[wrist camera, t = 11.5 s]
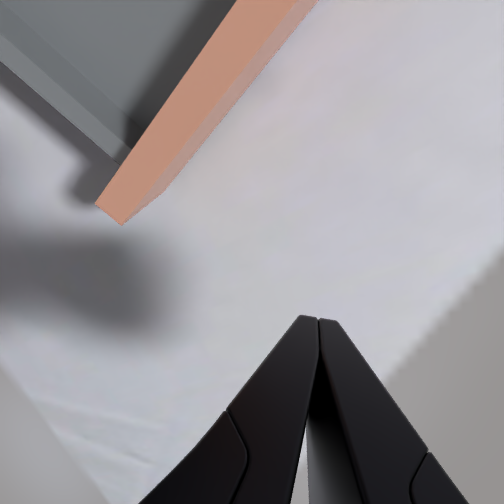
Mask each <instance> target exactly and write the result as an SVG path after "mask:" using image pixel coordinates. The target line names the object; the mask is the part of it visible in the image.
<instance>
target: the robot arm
mask: <svg viewBox="0 0 504 504" xmlns="http://www.w3.org/2000/svg"><path fill="white" fill-rule="evenodd" d="M305 428H306V438H307V463H308V487H309V504H469V503H468V502H467V500H466V499H465V498H464V496H463V495H462V494H461V492H460V491H459V490H458V488H457V487H456V486H455V484H454V483H453V482H452V480H451V479H450V478H449V476H448V475H447V474H446V472H445V471H444V469H443V468H442V467H441V465H440V464H439V463H438V461H437V460H436V458H435V457H434V455H433V454H432V453H431V452H428V448H427V446H426V445H425V443H424V442H423V441H422V439H421V438H420V436H419V435H418V433H417V432H416V430H415V429H414V428H413V426H412V425H411V424H410V422H409V421H408V419H407V418H406V416H405V415H404V414H403V412H402V411H401V409H400V408H399V407H398V405H397V404H396V403H395V401H394V400H393V398H392V397H391V395H390V394H389V393H388V391H387V390H386V388H385V387H384V386H383V384H382V383H381V381H380V380H379V379H378V377H377V376H376V374H375V373H374V372H373V370H372V369H371V367H370V366H369V364H368V363H367V362H366V360H365V359H364V357H363V356H362V355H361V353H360V352H359V350H358V349H357V348H356V346H355V345H354V343H353V342H352V341H351V339H350V338H349V336H348V335H347V334H346V332H345V331H344V329H343V328H342V327H341V325H340V324H339V323H338V322H337V321H335V320H330V319H324V318H320V319H319V320H318V319H317V318H316V317H312V316H306V315H299V316H298V317H297V319H296V320H295V321H294V322H293V324H292V325H291V326H290V328H289V329H288V330H287V331H286V333H285V334H284V335H283V336H282V338H281V339H280V340H279V342H278V343H277V344H276V345H275V347H274V348H273V349H272V351H271V352H270V353H269V354H268V356H267V357H266V358H265V359H264V361H263V362H262V363H261V365H260V366H259V367H258V368H257V370H256V371H255V372H254V374H253V375H252V376H251V377H250V379H249V380H248V381H247V382H246V384H245V385H244V386H243V388H242V389H241V390H240V391H239V393H238V394H237V395H236V397H235V398H234V399H233V400H232V402H231V403H230V404H229V405H228V407H227V408H226V411H224V412H223V413H222V414H221V415H220V417H219V418H218V419H217V420H216V422H215V423H214V424H213V426H212V427H211V428H210V429H209V430H208V432H207V433H206V434H205V435H204V436H203V437H202V439H201V440H200V441H199V442H198V443H197V445H196V446H195V447H194V448H193V449H192V450H191V451H190V452H189V453H188V454H187V455H186V456H185V457H184V458H183V459H182V461H181V462H180V463H179V464H178V465H177V466H176V467H175V468H174V469H173V470H172V471H171V472H170V473H169V474H168V475H167V476H166V477H165V478H164V479H163V480H162V481H161V482H160V483H159V484H158V485H157V486H156V487H155V488H154V489H153V490H152V491H151V492H150V493H149V494H148V495H147V496H146V497H145V498H144V499H142V500H141V501H140V502H139V503H138V504H290V503H291V498H292V493H293V488H294V483H295V478H296V473H297V468H298V463H299V458H300V453H301V448H302V443H303V438H304V433H305ZM427 452H428V453H427Z"/></svg>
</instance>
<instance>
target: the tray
mask: <svg viewBox="0 0 504 504" xmlns="http://www.w3.org/2000/svg"><path fill="white" fill-rule="evenodd" d="M317 2H318V0H0V61H1V62H2V63H3V64H4V65H5V66H7V67H8V68H9V69H10V70H11V71H12V72H13V73H15V74H16V75H17V76H18V77H19V78H20V79H22V80H23V81H24V82H25V83H26V84H27V85H28V86H30V87H31V88H32V89H33V90H34V91H35V92H36V93H38V94H39V95H40V96H41V97H42V98H43V99H45V100H46V101H47V102H48V103H49V104H50V105H51V106H53V107H54V108H55V109H56V110H57V111H58V112H60V113H61V114H62V115H63V116H64V117H65V118H66V119H68V120H69V121H70V122H71V123H72V124H73V125H74V126H76V127H77V128H78V129H79V130H80V131H81V132H83V133H84V134H85V135H86V136H87V137H88V138H89V139H91V140H92V141H93V142H94V143H95V144H96V145H97V146H99V147H100V148H101V149H102V150H103V151H104V152H106V153H107V154H108V155H109V156H110V157H111V158H112V159H114V160H115V161H116V162H117V163H118V164H119V165H121V166H120V168H119V169H118V171H117V172H116V174H115V175H114V176H113V178H112V179H111V181H110V182H109V184H108V185H107V186H106V188H105V189H104V191H103V192H102V194H101V195H100V196H99V198H98V199H97V201H96V202H95V204H96V205H97V206H98V207H99V208H101V209H102V210H103V211H104V212H105V213H107V214H108V215H109V216H110V217H111V218H113V219H114V220H115V221H116V222H117V223H119V224H120V225H121V226H122V225H123V224H124V223H125V222H127V221H128V220H129V219H131V218H132V217H133V216H134V215H136V214H137V213H138V212H139V211H141V210H142V209H143V208H144V207H146V206H147V205H148V204H149V203H151V202H152V201H153V200H154V199H156V198H157V197H158V196H159V195H161V194H162V193H163V192H164V191H165V190H166V188H167V187H168V186H169V185H170V183H171V182H172V181H173V180H174V178H175V177H176V176H177V175H178V173H179V172H180V171H181V170H182V169H183V167H184V166H185V165H186V164H187V162H188V161H189V160H190V159H191V157H192V156H193V155H194V154H195V152H196V151H197V150H198V149H199V148H200V146H201V145H202V144H203V143H204V141H205V140H206V139H207V138H208V136H209V135H210V134H211V133H212V131H213V130H214V129H215V128H216V126H217V125H218V124H219V123H220V122H221V120H222V119H223V118H224V117H225V115H226V114H227V113H228V112H229V110H230V109H231V108H232V107H233V105H234V104H235V103H236V102H237V100H238V99H239V98H240V97H241V96H242V94H243V93H244V92H245V91H246V89H247V88H248V87H249V86H250V84H251V83H252V82H253V81H254V79H255V78H256V77H257V76H258V75H259V73H260V72H261V71H262V70H263V68H264V67H265V66H266V65H267V63H268V62H269V61H270V60H271V58H272V57H273V56H274V55H275V53H276V52H277V51H278V50H279V49H280V47H281V46H282V45H283V44H284V42H285V41H286V40H287V39H288V37H289V36H290V35H291V34H292V32H293V31H294V30H295V29H296V28H297V26H298V25H299V24H300V23H301V21H302V20H303V19H304V18H305V16H306V15H307V14H308V13H309V11H310V10H311V9H312V8H313V6H314V5H315V4H316V3H317Z"/></svg>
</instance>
